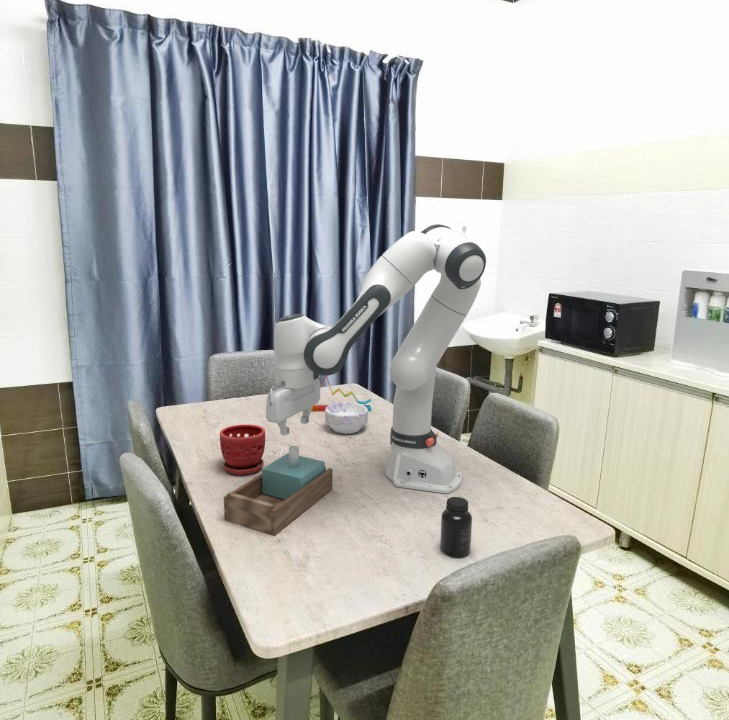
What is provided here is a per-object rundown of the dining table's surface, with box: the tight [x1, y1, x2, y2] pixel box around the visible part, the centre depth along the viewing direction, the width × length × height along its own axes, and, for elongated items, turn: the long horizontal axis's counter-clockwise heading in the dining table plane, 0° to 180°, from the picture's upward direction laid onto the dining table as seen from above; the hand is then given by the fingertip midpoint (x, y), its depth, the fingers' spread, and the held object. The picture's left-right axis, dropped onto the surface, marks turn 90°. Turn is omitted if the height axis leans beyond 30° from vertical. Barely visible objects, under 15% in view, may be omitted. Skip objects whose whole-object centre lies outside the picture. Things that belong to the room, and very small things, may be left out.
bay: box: [223, 467, 333, 537], centre depth 146 cm, size 15×27×7 cm, turn 154°
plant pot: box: [219, 424, 266, 476], centre depth 167 cm, size 13×13×12 cm
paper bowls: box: [324, 401, 369, 435], centre depth 201 cm, size 15×15×8 cm
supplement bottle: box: [439, 496, 473, 558], centre depth 127 cm, size 7×7×12 cm
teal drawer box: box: [261, 445, 327, 500], centre depth 151 cm, size 12×12×12 cm
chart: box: [300, 376, 372, 413], centre depth 221 cm, size 30×3×15 cm, turn 94°
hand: (295, 428), depth 148 cm, fingers open, 8 cm apart
